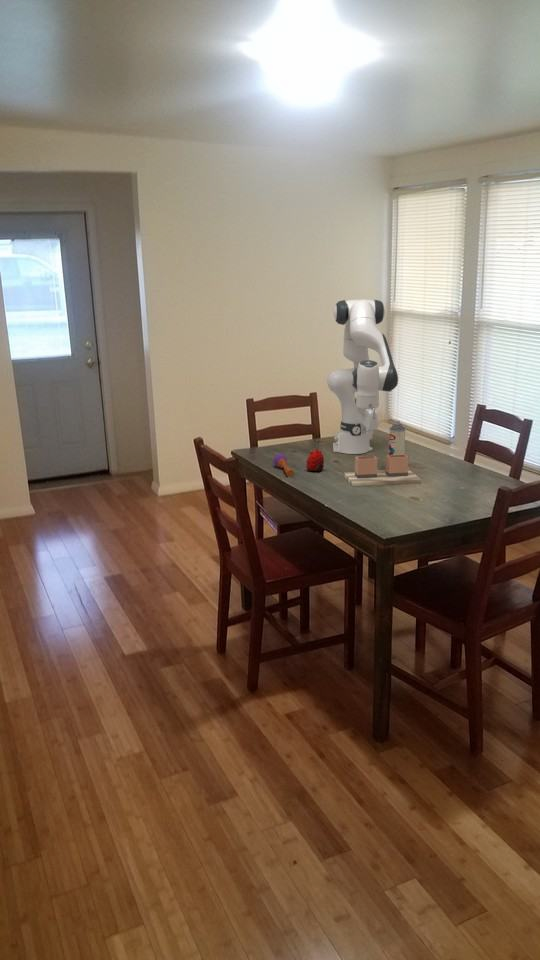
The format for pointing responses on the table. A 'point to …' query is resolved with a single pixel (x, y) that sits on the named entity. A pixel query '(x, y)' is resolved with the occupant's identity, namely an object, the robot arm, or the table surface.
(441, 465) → the table surface
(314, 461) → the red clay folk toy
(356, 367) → the robot arm
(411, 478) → the wooden slatted tray
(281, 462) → the kendama
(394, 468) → the seated sleeve
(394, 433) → the aerosol can
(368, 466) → the sleeve
